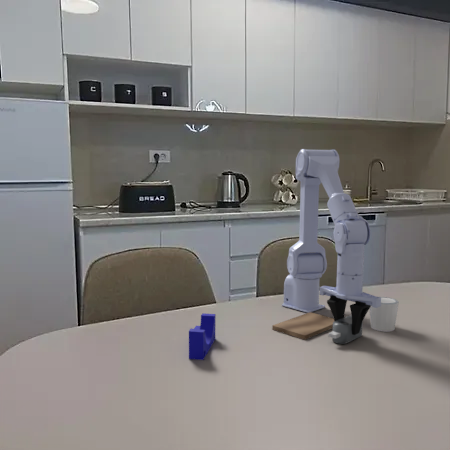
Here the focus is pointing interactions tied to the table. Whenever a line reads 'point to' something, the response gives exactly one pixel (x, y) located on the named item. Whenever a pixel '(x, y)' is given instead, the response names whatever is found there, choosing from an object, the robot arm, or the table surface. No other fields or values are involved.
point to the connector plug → (343, 331)
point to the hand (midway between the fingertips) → (347, 331)
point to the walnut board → (305, 325)
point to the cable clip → (202, 337)
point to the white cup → (384, 315)
